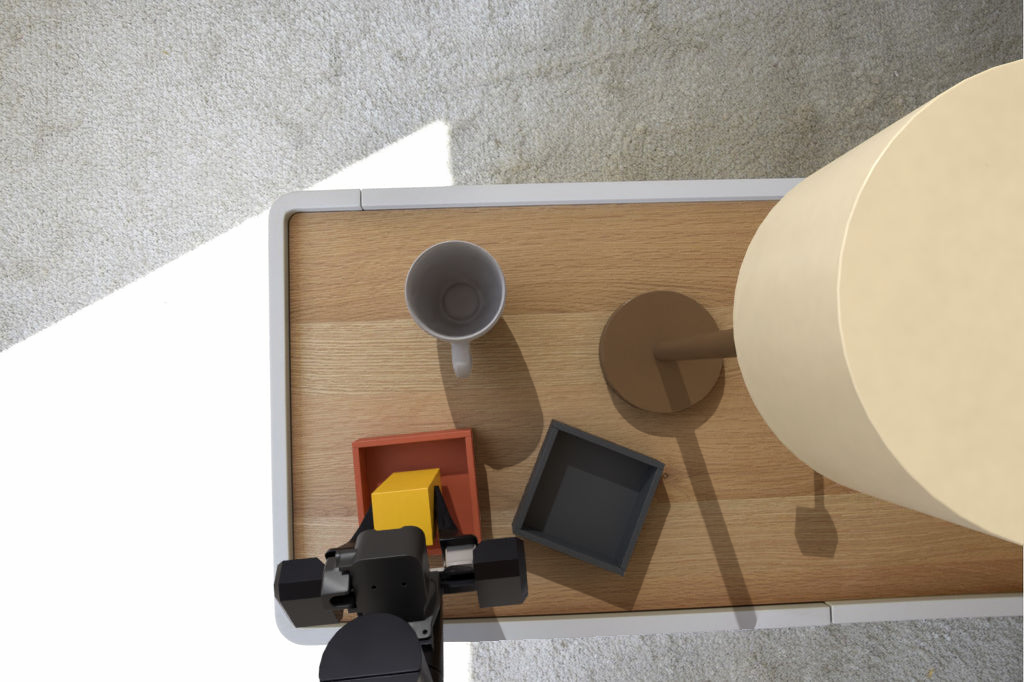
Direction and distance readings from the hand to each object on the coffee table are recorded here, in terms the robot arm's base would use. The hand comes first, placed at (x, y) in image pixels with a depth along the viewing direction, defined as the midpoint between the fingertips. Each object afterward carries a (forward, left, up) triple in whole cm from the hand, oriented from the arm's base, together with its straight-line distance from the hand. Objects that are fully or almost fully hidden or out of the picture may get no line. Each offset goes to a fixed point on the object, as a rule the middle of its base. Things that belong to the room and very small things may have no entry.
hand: (409, 490), depth 57 cm
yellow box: (-1, 0, -6) cm, 6 cm away
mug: (+16, -1, -8) cm, 18 cm away
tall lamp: (+16, -21, -8) cm, 28 cm away
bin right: (+1, -16, -8) cm, 18 cm away
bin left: (-1, 0, -8) cm, 8 cm away
